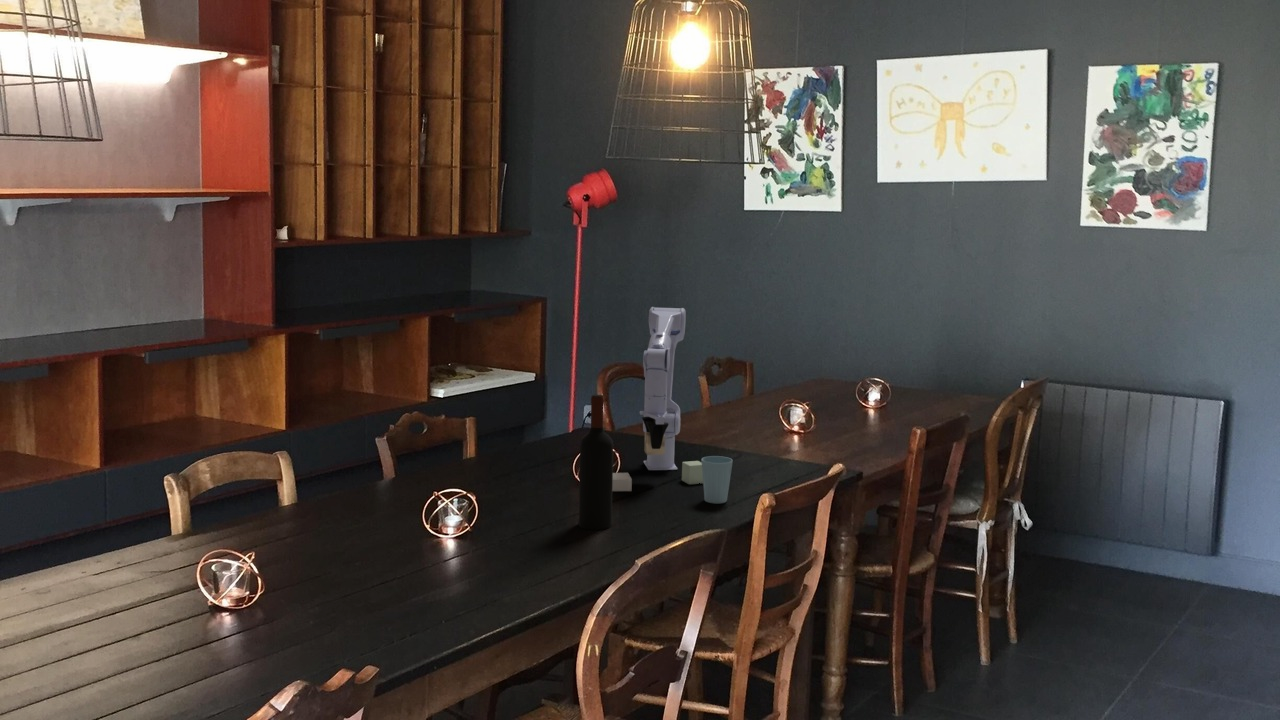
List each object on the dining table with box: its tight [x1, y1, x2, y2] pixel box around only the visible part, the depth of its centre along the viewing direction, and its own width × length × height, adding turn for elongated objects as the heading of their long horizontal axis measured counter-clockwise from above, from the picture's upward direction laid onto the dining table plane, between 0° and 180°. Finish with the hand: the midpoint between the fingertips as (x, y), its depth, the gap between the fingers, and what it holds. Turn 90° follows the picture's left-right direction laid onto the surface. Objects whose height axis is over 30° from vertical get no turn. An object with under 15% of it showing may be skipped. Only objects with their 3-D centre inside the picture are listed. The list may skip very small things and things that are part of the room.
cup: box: [700, 455, 734, 504], centre depth 303 cm, size 8×8×10 cm
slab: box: [612, 472, 633, 492], centre depth 314 cm, size 7×7×3 cm
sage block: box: [681, 460, 703, 485], centre depth 322 cm, size 4×4×5 cm
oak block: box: [643, 432, 665, 456], centre depth 319 cm, size 4×4×5 cm
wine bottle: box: [578, 394, 614, 531], centre depth 278 cm, size 8×8×30 cm
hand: (654, 446), depth 319 cm, fingers closed on oak block, 4 cm apart
